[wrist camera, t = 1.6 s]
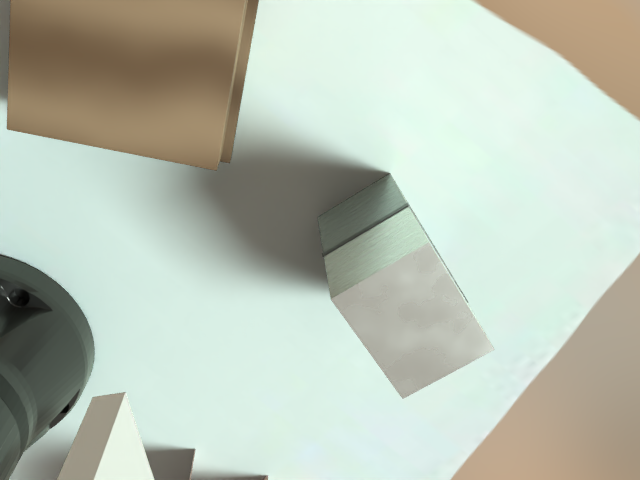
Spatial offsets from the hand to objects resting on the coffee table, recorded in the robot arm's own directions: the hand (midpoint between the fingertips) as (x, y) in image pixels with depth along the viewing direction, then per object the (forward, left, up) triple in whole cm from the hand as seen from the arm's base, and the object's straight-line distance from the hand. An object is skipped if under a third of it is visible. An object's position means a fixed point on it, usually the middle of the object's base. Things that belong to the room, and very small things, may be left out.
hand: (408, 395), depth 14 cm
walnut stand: (-11, +6, -29) cm, 31 cm away
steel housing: (+3, -9, -29) cm, 30 cm away
